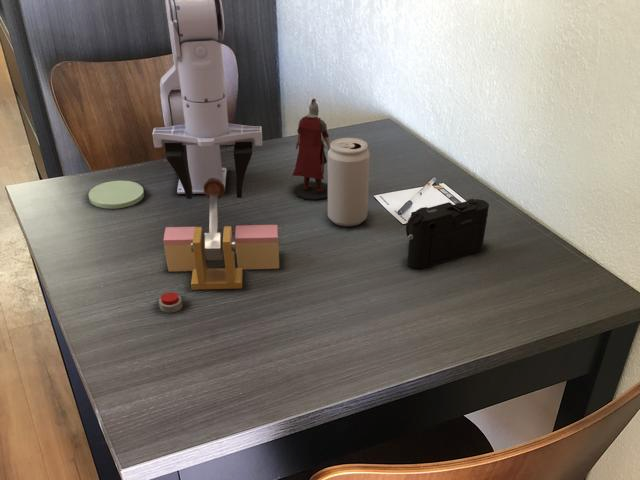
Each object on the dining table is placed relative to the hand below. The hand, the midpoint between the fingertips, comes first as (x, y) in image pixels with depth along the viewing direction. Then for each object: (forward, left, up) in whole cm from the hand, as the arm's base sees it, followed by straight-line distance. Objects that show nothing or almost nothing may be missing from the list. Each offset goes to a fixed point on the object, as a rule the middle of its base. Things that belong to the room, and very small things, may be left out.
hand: (214, 195), depth 104 cm
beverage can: (-9, +20, -8) cm, 23 cm away
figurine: (-19, +15, -8) cm, 25 cm away
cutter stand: (+9, 0, -8) cm, 13 cm away
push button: (+15, -6, -9) cm, 19 cm away
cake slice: (+4, -5, -8) cm, 11 cm away
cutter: (+4, 0, -2) cm, 5 cm away
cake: (+4, +6, -8) cm, 11 cm away
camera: (+2, +33, -8) cm, 34 cm away
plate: (-19, -18, -8) cm, 27 cm away
